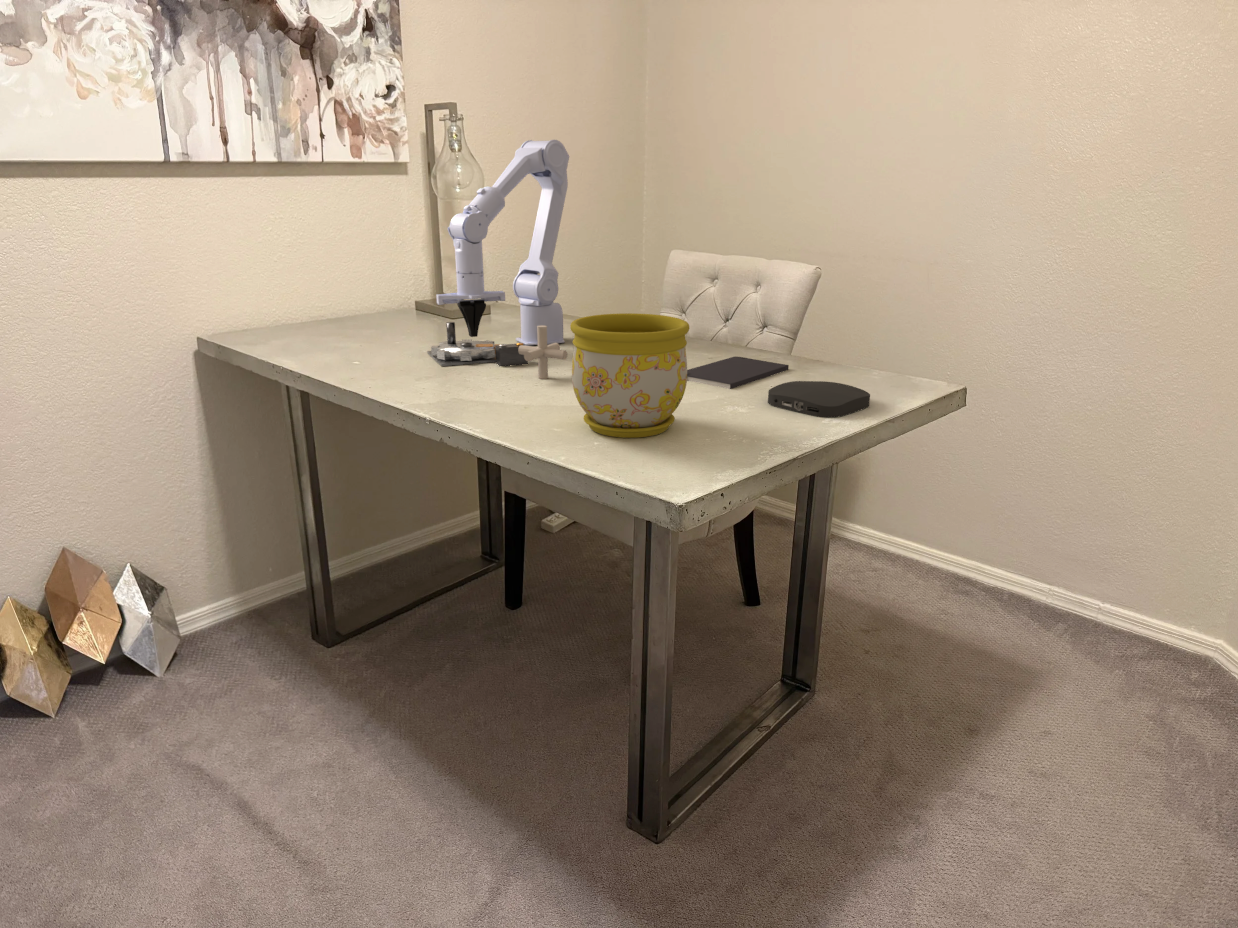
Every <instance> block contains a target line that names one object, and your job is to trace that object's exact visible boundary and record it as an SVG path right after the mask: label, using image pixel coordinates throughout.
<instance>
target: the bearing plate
mask: <svg viewBox="0 0 1238 928" xmlns="http://www.w3.org/2000/svg"><path fill="white" fill-rule="evenodd" d="M426 352H427V355H428V356H430V357H431V358H432V359H433V360H434V361H435V362H436V363H437V364H438V363H439V364H438V365H439V366H440V365H441V366H443V367H453V366H452V365H455V366H464V365H463V364H467V365H475V364H474V363H479V364H488V363H487V362H491V363H496V354H495V357H493V358H489V359H486V358H479V359H472V361H461V359H446V360H443V359H437V355H432V354H431V350H427V351H426ZM441 366H440V367H441Z"/></svg>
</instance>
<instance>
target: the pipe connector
mask: <svg viewBox="0 0 1238 928" xmlns="http://www.w3.org/2000/svg"><path fill="white" fill-rule="evenodd" d="M537 338H538V345H537V346H533V345H529V346H524V345H520V346H519V348H518V352H519V354H522V355H524V359H525V360H526V361H528V362H531V361H534V360H537V365H538V368H537V372H538V375H537V376H538V379H540V380H546V379H548V378H549V370H548V369H549V366H548V365H549V364H548V363H549V362H548V360H549V359H556V360H566V359H568V351H567V350H565V349H561V346H560V343H553V344H547V326H544V325H540V326H537Z"/></svg>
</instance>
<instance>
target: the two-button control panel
mask: <svg viewBox="0 0 1238 928" xmlns="http://www.w3.org/2000/svg"><path fill="white" fill-rule="evenodd" d="M499 344H500V345H495V350H496V362H495V364H496V365H497V364H498V365H499V366H498V365H497V366H498V367H500V366H505V367H511V366H510V365H516V366H523V365H522V364H528V365H529V361H526V360H525V359H524V355H522V354H519V352H518V348H519V346H520V345H524V346H527V345H526V344H524V343H520V342H516V343H509V344H507V343H506V344H505V343H499Z"/></svg>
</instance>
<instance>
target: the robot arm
mask: <svg viewBox="0 0 1238 928" xmlns="http://www.w3.org/2000/svg"><path fill="white" fill-rule="evenodd" d="M569 161H570V155H569V152H568V151H567V148H566V147H565V145H564V143H562V142H561V141H560V140H558V139H550V140H532V139H531V140H530V139H529V140H525V141H524V142H523V143H522V144H521V146H520V147H518V148H517V149H516V150H515V152H514V157H513V158H512V159H511V161H510V162H509V164H508V165H507V166H506V167H505V169H504V170H503V172H502V173H501V174H500V175H499V176H498V178H497V179H496V181H495V182H494V184H492V186H489V185H487V186H484V187H481V188H478V189H477V190H476V196H474V197H473V199H472V200H471V201H470V203H469V204H468V205H465V206H464V207H463V211H462V212H460V213H457V214H455V215H453V217H452V218H451V220H450V221H449V226H447V232H448V235H449V237H450V238H451V239H452V241H453V243H452V244H453V247H454V257H455V273H456V289H457V290H456V292H450V293H448V292H447V293H441V294H438V293H436V295H435V296H436V297H435V298H436V304H437V305H438V306H439V305H448V304H449V305H450V304H457V307H458V309H459V311H460V313H461V314H462V317H463V319H464V322H465V324H466V328H467V331H468V335H469V337H471V338H473V337H474V338H475V337H476V338H477V337H478V333H479V328H480V324H481V320H482V317H483V315H484V313H485V310H486V308H487V304H486V303H485V302H505V301H506V292H505V291H503V290H495V291H494V290H493V291H492V290H491V291H490V290H489V291H488V290H487V291H486V290H485V277H484V274H485V273H484V257H483V255H484V254H483V240H484V239H486V237H487V235H488V233H489V226H490V224H492V222H493V221H494V220H495V218H496V217H497V216H498V215H499V213H501V211H502V210H503V209H504V208H505V206H506V200H505V199H506V197H507V196H508V195H509V194H510V193H511V192H512V191H513V190H514V189H515V188H516V187H517V186H518V185H519V184H520V183H521V182H522V181H523V180H524V178H526V177H527V175H531V176H532V177H533V179H535V180H536V181H537V183H538V184H539V186H540V187H541V191H540V198H539V201H538V207H537V213H536V218H535V222H534V228H533V234H532V238H531V241H530V242H531V243H530V247H529V252H528V258H527V259H525V261H524V262H522V263H521V264H520V266H519V269H518V272H517V274H516V276H515V277H514V278H513V282H512V290H513V291H512V292H513V294H514V295H515V296H516V297H517V298H518V303H519V304H520V306H519V307H520V308H519V309H520V310H519V311H520V336H521V337H515V341H517V342H518V343H524V344H526V345H527V346H538V338H537V326H540V325H544V326H547V345H550V344H553V343H558V344H564V343H565V340H564V313H563V308H562V306H561V304H560V303H559V302H555V300H556V299H557V296H558V294H559V283H558V281H559V280H558V279H559V271H558V270H557V269H556V267H555V265H554V263H553V260H554V257H555V251H556V246H557V245H556V244H557V241H558V236H559V231H560V226H561V221H562V216H563V212H564V207H565V203H566V202H565V200H566V198H567V197H566V196H567V191H568V188H569V187H568V185H569V182H568V171H567V169H568V165H569Z"/></svg>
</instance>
